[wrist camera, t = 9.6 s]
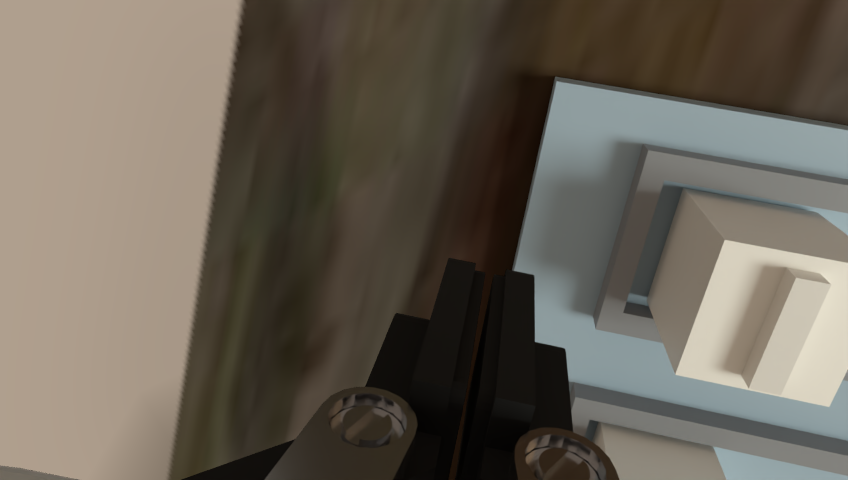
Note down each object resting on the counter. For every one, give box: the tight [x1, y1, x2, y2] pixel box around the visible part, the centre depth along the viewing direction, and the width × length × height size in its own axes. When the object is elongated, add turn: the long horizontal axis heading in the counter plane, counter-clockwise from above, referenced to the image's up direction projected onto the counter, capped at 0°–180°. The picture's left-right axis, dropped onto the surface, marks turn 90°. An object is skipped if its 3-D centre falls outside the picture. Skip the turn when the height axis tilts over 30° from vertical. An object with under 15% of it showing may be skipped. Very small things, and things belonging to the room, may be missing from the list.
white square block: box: [647, 188, 848, 407], centre depth 17 cm, size 4×4×5 cm
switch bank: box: [512, 77, 848, 480], centre depth 21 cm, size 18×22×2 cm
